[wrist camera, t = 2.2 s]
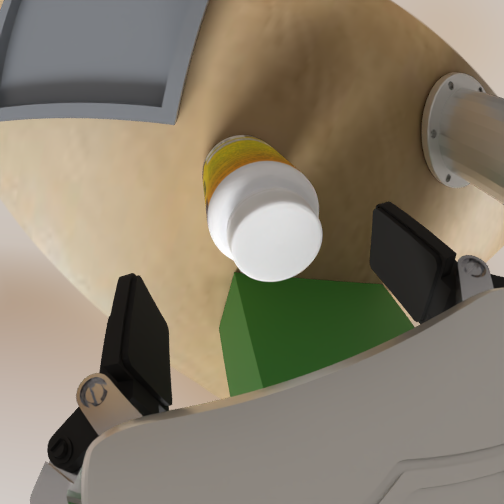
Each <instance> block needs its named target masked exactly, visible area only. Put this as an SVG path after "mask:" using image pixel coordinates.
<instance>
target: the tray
mask: <svg viewBox="0 0 504 504" xmlns="http://www.w3.org/2000/svg"><path fill="white" fill-rule="evenodd" d="M208 3H209V0H4V1H3V4H2V7H1V10H0V121H9V120H22V119H40V118H98V119H117V120H131V121H143V122H153V123H162V124H170V125H175V123H176V122H177V117H178V112H179V108H180V103H181V98H182V94H183V90H184V86H185V81H186V77H187V73H188V69H189V66H190V62H191V58H192V55H193V51H194V47H195V44H196V40H197V37H198V34H199V31H200V27H201V24H202V21H203V18H204V15H205V12H206V9H207V6H208Z"/></svg>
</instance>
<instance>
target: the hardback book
mask: <svg viewBox="0 0 504 504" xmlns="http://www.w3.org/2000/svg"><path fill="white" fill-rule="evenodd" d="M413 328H415V327H414V326H413V324H412V323H411V322H410V320H409V319H408V317H407V316H406V315H405V313H404V312H403V311H402V309H401V308H400V307H399V305H398V304H397V303H396V301H395V300H394V299H393V297H392V296H391V295H390V293H389V292H388V291H387V290H386V288H385V287H384V286H383V284H370V283H356V282H342V281H329V280H316V279H304V278H292V277H291V278H288V279H285V280H281V281H275V282H265V281H259V280H255V279H253V278H250V277H248V276H247V275H246V274H244V273H237V272H234V276H233V279H232V283H231V286H230V290H229V294H228V297H227V301H226V305H225V308H224V312H223V316H222V319H221V323H220V327H219V331H220V338H221V344H222V350H223V357H224V363H225V369H226V375H227V380H228V386H229V392H230V397H233V396H237V395H241V394H244V393H248V392H252V391H255V390H259V389H262V388H266V387H269V386H272V385H276V384H279V383H282V382H285V381H288V380H291V379H294V378H297V377H300V376H303V375H306V374H309V373H312V372H314V371H317V370H320V369H322V368H325V367H328V366H330V365H333V364H336V363H338V362H341V361H343V360H346V359H348V358H350V357H353V356H355V355H358V354H360V353H362V352H365V351H367V350H369V349H371V348H374V347H376V346H378V345H380V344H382V343H384V342H387V341H389V340H391V339H393V338H395V337H397V336H399V335H401V334H403V333H405V332H407V331H409V330H411V329H413Z"/></svg>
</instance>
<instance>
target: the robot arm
mask: <svg viewBox="0 0 504 504" xmlns="http://www.w3.org/2000/svg"><path fill="white" fill-rule="evenodd" d="M422 147H423V152H424V156H425V160H426V162H427V165H428V168H429V169H430V171H431V173H432V174H433V176H434V177H435V178H436V179H437V180H438V181H440V182H441V183H443V184H444V185H446V186H448V187H451V188H462V187H465V186H467V185H469V184H470V183H471V184H472V185H474V186H476V187H477V188H479V189H480V190H482V191H484V192H485V193H487V194H488V195H490V196H491V197H493V198H494V199H496V200H497V201H499V202H500V203H502V204H503V205H504V99H503V98H500V97H497V96H494V95H490V94H487V93H486V92H485V90H484V88H483V87H482V85H481V84H480V83H479V82H478V81H477V80H476V79H475V78H473V77H472V76H470V75H467V74H464V73H458V72H453V73H448V74H446V75H444V76H442V77H441V78H440V79H439V80H438V81H437V82H436V83H435V85H434V86H433V88H432V89H431V91H430V93H429V96H428V98H427V101H426V104H425V108H424V112H423V119H422ZM455 257H456V253H455V252H454V251H453V250H452V249H451V248H449V247H448V246H447V245H446V244H445V243H443V242H442V241H441V240H440V239H439V238H437V237H436V236H435V235H434V234H432V233H431V232H430V231H429V230H427V229H426V228H425V227H424V226H422V225H421V224H420V223H418V222H417V221H416V220H415V219H413V218H412V217H411V216H409V215H408V214H407V213H405V212H404V211H403V210H401V209H400V208H398V207H397V206H396V205H394V204H393V203H391V202H385V203H381V204H378V205H377V206H376V208H375V209H374V211H373V222H372V238H371V250H370V266H371V269H372V270H373V271H374V272H375V273H376V275H377V276H378V277H379V278H380V279H381V280H382V282H383V283H384V284H385V285H386V286H387V287H388V289H389V290H390V291H391V292H392V293H393V295H394V296H395V297H396V298H397V299H398V301H399V302H400V303H401V304H402V306H403V307H404V308H405V309H406V311H407V312H408V313H409V314H410V316H411V317H412V318H413V319H414V320H415V321H416V322H419V323H420V324H421V325H419V326H417V327H415V328H413V329H411V330H409V331H407V332H405V333H403V334H401V335H399V336H397V337H395V338H393V339H391V340H389V341H387V342H384V343H382V344H380V345H378V346H376V347H374V348H371V349H369V350H367V351H365V352H362V353H360V354H358V355H355V356H353V357H350V358H348V359H346V360H343V361H341V362H338V363H336V364H333V365H330V366H328V367H325V368H322V369H320V370H317V371H314V372H312V373H309V374H306V375H303V376H300V377H297V378H294V379H291V380H288V381H285V382H282V383H279V384H276V385H272V386H269V387H266V388H262V389H259V390H255V391H252V392H248V393H244V394H241V395H237V396H233V397H229V398H225V399H221V400H216V401H212V402H208V403H204V404H199V405H195V406H190V407H185V408H180V409H175V410H170V411H169V406H170V405H172V392H171V377H170V355H169V330H168V326H167V323H166V321H165V320H164V318H163V316H162V314H161V313H160V311H159V309H158V307H157V306H156V304H155V302H154V300H153V299H152V297H151V295H150V293H149V291H148V289H147V288H146V286H145V284H144V282H143V280H142V278H141V277H140V276H139V275H138V276H136V275H135V274H134V273H131V274H128V275H125V276H121V277H119V279H118V283H117V288H116V292H115V296H114V301H113V306H112V311H111V316H109V319H108V323H107V329H106V334H105V339H104V345H103V352H102V359H101V365H100V373H95V374H92V375H89V376H88V377H86V378H85V379H84V380H83V381H82V382H81V383H80V385H79V387H78V389H77V394H76V399H77V403H78V405H79V407H78V408H77V409H76V410H75V412H74V413H73V414H72V415H71V416H70V417H69V418H68V419H67V420H66V421H65V423H64V424H63V425H62V426H61V427H60V428H59V429H58V430H57V431H56V432H55V434H54V435H53V436H52V437H51V439H50V440H49V443H48V457H49V459H50V462H49V463H48V462H45V464H44V466H43V468H42V470H41V473H40V475H39V477H38V480H37V482H36V484H35V487H34V489H33V492H32V494H31V498H30V504H504V277H500V276H496V275H492V274H490V271H489V268H488V266H487V265H486V263H485V262H484V261H482V260H481V259H479V258H477V257H475V256H471V255H465V256H462V257H461V258H459V260H458V262H457V261H456V260H455Z"/></svg>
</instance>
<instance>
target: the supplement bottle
mask: <svg viewBox="0 0 504 504" xmlns="http://www.w3.org/2000/svg"><path fill="white" fill-rule="evenodd" d="M203 187H204V196H205V204H206V213H207V222H208V227H209V231H210V234H211V237H212V239H213V241H214V243H215V244H216V246H217V247H218V248H219V250H220V251H221V252H222V253H224V254H225V255H226V256H227V257H229V258H230V259H232V260H234V262H235V264H236V265H237V267H238V268H239V269H240V270H241V271H242V272H243V273H244V274H246V275H247V276H248V277H250V278H253V279H255V280H259V281H265V282H275V281H281V280H285V279H288V278H291V277H293V276H295V275H297V274H298V273H300V272H301V271H303V270H304V269H305V268H306V267H308V266H309V265H310V263H311V262H312V261H313V260H314V259H315V257H316V255H317V254H318V252H319V249H320V247H321V243H322V237H323V232H322V225H321V223H320V220H319V218H318V217H319V203H318V197H317V194H316V192H315V189H314V188H313V186H312V184H311V183H310V181H309V180H308V179H307V178H306V177H305V176H304V175H303V174H302V173H301V172H300V171H299V170H298V169H297V168H296V167H294V166H293V165H292V164H291V163H290V162H289V161H287V160H286V159H285V158H284V157H283V156H282V155H280V154H279V153H278V152H277V151H276V150H275V149H273V148H272V147H271V146H270V145H269V144H267V143H266V142H264V141H263V140H261V139H259V138H256V137H253V136H249V135H237V136H232V137H229V138H226V139H224V140H222V141H221V142H219V143H218V144H217V145H216V146H214V147H213V149H212V150H211V151H210V152H209V154H208V156H207V157H206V160H205V162H204V166H203Z"/></svg>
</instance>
